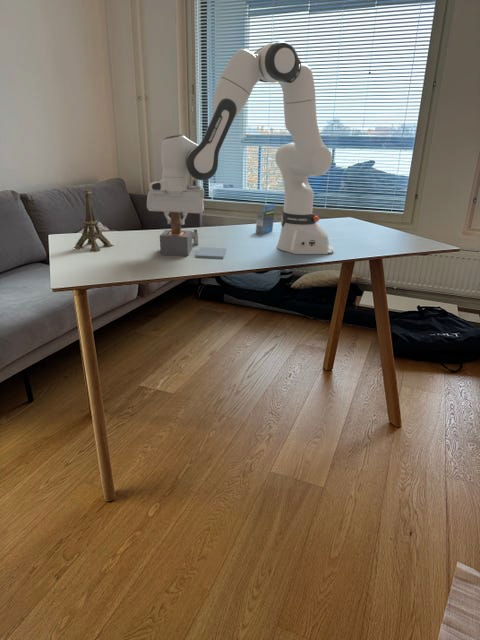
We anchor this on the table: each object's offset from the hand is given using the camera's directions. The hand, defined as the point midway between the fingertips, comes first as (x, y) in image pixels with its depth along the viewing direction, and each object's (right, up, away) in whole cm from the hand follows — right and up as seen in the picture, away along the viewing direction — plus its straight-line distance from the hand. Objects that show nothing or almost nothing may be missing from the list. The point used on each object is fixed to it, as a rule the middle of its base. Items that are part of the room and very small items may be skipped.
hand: (176, 224), depth 155 cm
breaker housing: (0, -9, +4) cm, 10 cm away
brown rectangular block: (0, -3, +1) cm, 3 cm away
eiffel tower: (-32, -7, +6) cm, 34 cm away
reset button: (0, -6, +3) cm, 6 cm away
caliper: (+2, -1, +23) cm, 23 cm away
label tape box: (+35, +6, +42) cm, 54 cm away
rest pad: (+13, -10, +4) cm, 17 cm away
